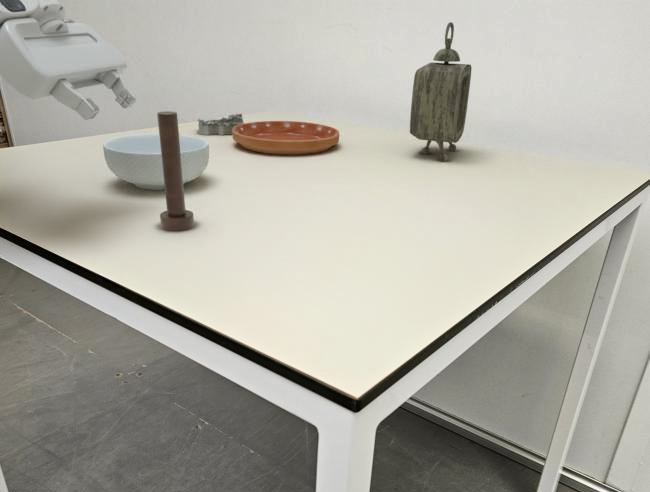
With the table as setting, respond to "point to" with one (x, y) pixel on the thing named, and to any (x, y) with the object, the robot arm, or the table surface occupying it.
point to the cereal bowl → (153, 159)
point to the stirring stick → (172, 175)
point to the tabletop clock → (440, 99)
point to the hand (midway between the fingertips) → (113, 109)
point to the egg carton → (220, 125)
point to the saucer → (285, 137)
